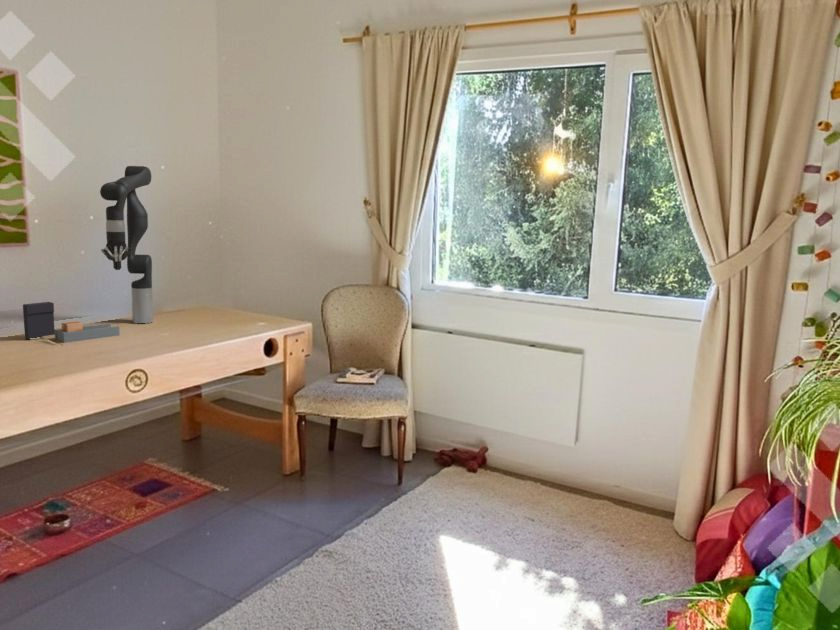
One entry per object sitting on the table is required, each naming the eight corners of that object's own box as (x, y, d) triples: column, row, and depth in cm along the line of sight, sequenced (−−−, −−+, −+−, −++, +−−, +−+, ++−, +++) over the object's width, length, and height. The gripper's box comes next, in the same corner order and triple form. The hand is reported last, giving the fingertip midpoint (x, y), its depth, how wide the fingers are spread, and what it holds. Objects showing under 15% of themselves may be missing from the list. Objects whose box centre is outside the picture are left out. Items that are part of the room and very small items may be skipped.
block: (62, 338, 276) (61, 322, 275) (77, 337, 281) (76, 321, 280) (68, 341, 273) (67, 324, 271) (83, 339, 277) (82, 323, 276)
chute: (51, 340, 276) (50, 329, 275) (112, 332, 296) (112, 322, 295) (63, 345, 268) (62, 334, 268) (125, 337, 288) (125, 326, 287)
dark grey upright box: (50, 335, 287) (48, 301, 284) (55, 336, 284) (53, 302, 282) (24, 339, 278) (21, 304, 275) (28, 340, 275) (26, 305, 273)
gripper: (126, 229, 295) (128, 268, 298) (96, 230, 285) (98, 269, 288) (134, 230, 290) (136, 269, 293) (104, 231, 280) (106, 271, 283)
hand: (117, 269), depth 290 cm, fingers closed
